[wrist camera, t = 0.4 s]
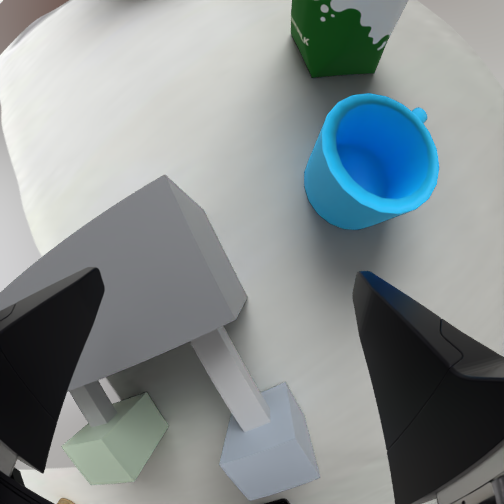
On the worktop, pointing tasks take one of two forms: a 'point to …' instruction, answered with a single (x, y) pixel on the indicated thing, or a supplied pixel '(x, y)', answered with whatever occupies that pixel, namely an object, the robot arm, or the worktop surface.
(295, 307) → the worktop surface
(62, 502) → the sprinkles bottle
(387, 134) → the mug
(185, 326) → the grey curved block
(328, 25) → the milk carton
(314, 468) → the grey key
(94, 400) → the green key
